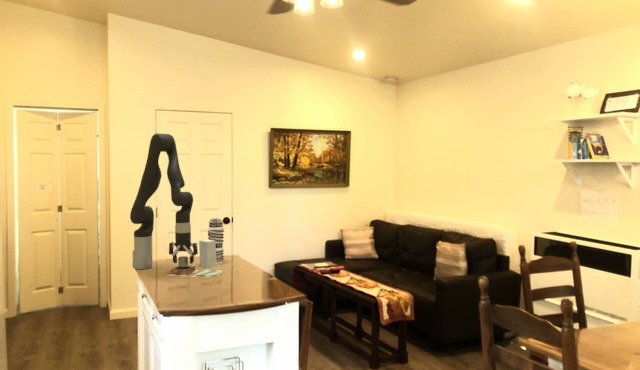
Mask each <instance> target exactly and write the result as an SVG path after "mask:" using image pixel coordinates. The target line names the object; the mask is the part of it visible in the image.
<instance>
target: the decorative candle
mask: <svg viewBox="0 0 640 370" xmlns="http://www.w3.org/2000/svg"><path fill="white" fill-rule="evenodd" d="M224 229H225V228H224V226H223V220H222V219H221V218H211V219H210V220H209V221H208V231H207V233H208V234H207V236H208V237H207V239H208V240H215V244H216V264H217V265H219V264H223V263H224V254H225V253H224V251H225V250H224V247H223V244H224V241H225V240H223V239H225V237H224V232H225V230H224Z"/></svg>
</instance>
